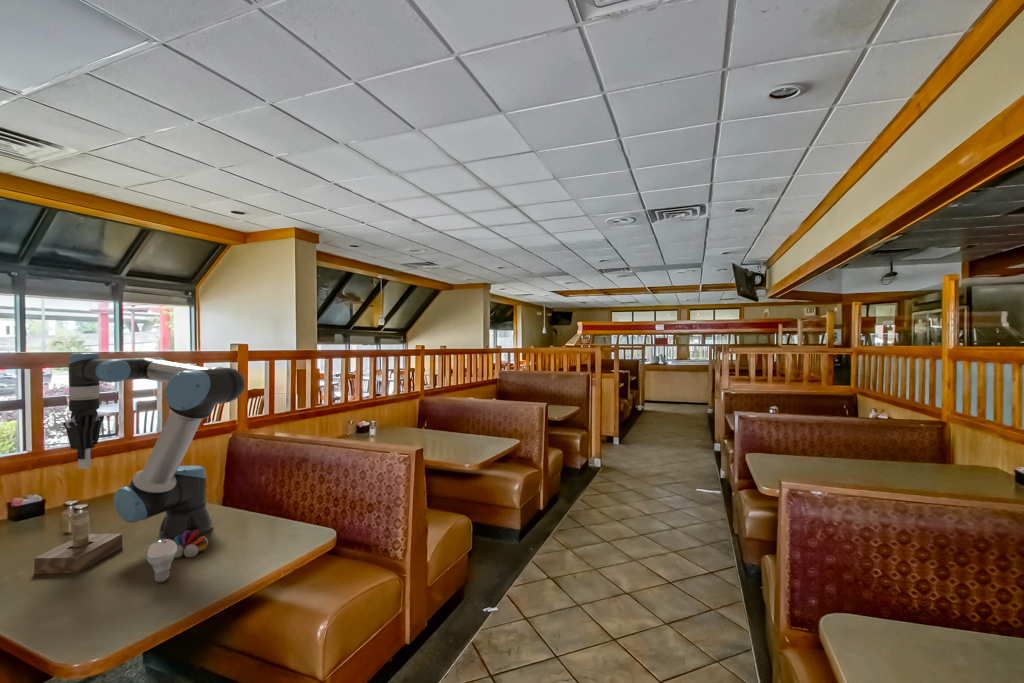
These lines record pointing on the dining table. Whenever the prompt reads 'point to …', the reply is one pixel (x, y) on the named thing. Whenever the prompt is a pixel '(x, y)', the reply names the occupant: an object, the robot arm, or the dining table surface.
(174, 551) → the light bulb
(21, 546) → the dining table surface
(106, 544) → the board
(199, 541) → the rainbow fan toy
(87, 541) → the dowel
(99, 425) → the robot arm
